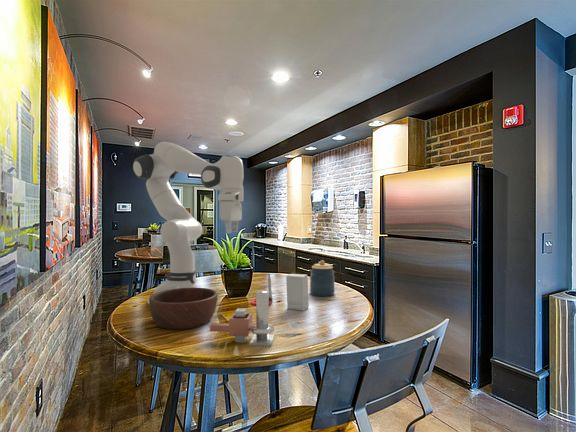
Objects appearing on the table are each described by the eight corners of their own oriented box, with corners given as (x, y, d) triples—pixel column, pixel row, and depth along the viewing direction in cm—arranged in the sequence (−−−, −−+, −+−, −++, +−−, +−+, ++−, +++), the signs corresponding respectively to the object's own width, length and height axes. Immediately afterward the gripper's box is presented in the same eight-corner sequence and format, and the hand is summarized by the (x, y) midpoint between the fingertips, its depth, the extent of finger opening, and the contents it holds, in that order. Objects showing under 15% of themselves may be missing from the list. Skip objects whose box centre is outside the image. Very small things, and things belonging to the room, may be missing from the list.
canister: (321, 289, 172) (321, 257, 172) (339, 294, 163) (339, 260, 163) (304, 293, 164) (304, 260, 164) (323, 298, 154) (323, 262, 154)
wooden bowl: (166, 310, 133) (166, 286, 133) (224, 311, 132) (224, 287, 132) (135, 332, 108) (135, 303, 108) (206, 333, 107) (207, 304, 107)
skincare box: (308, 307, 138) (309, 274, 138) (303, 311, 132) (303, 276, 132) (291, 305, 142) (292, 272, 142) (285, 308, 136) (285, 274, 136)
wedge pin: (235, 342, 100) (235, 311, 100) (237, 338, 103) (237, 308, 103) (244, 342, 100) (245, 311, 100) (246, 338, 103) (246, 308, 103)
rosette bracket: (207, 344, 98) (207, 293, 98) (214, 335, 106) (214, 288, 106) (272, 346, 97) (272, 295, 97) (275, 336, 104) (275, 289, 104)
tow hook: (249, 306, 141) (271, 306, 140) (248, 276, 141) (269, 275, 141) (252, 301, 150) (273, 300, 149) (251, 272, 150) (271, 271, 150)
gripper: (230, 198, 131) (230, 231, 131) (216, 195, 111) (216, 234, 111) (245, 198, 131) (245, 231, 131) (233, 195, 111) (233, 234, 111)
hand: (232, 232), depth 121 cm, fingers open, 8 cm apart
